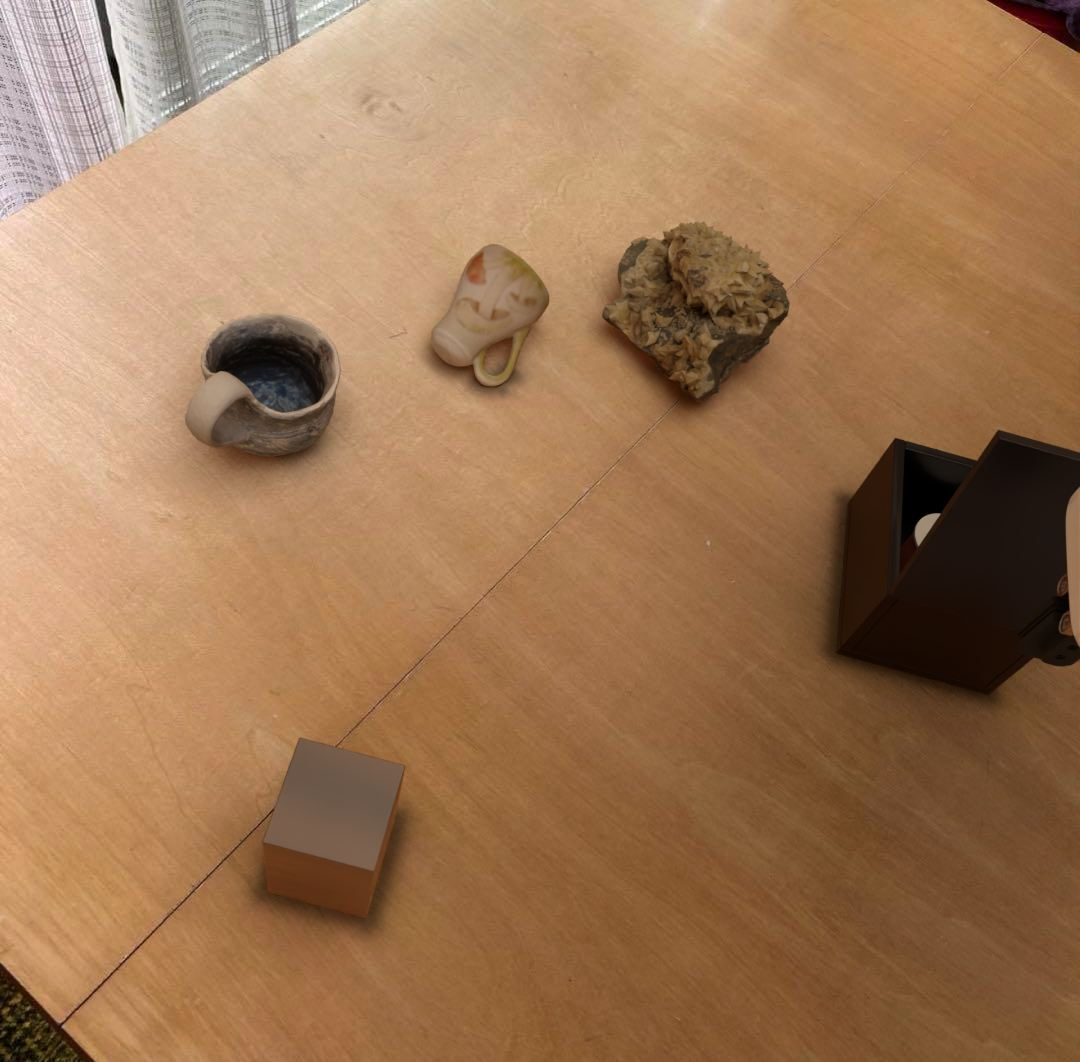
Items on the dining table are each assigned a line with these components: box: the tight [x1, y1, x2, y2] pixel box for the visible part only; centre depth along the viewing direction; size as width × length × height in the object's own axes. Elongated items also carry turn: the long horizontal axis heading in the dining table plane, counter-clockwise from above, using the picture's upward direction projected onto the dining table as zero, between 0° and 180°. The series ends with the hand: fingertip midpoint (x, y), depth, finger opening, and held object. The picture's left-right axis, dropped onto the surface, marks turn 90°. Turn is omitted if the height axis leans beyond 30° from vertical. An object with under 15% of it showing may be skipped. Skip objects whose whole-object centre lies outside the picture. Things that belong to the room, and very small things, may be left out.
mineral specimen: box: [601, 221, 791, 404], centre depth 93 cm, size 14×13×10 cm
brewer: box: [836, 437, 1035, 695], centre depth 84 cm, size 14×12×9 cm
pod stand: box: [262, 737, 406, 919], centre depth 66 cm, size 6×6×10 cm
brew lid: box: [890, 429, 1080, 631], centre depth 71 cm, size 14×12×1 cm
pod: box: [899, 513, 940, 574], centre depth 86 cm, size 5×5×4 cm
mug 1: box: [184, 312, 342, 458], centre depth 81 cm, size 10×12×10 cm
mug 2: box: [430, 243, 550, 387], centre depth 91 cm, size 8×10×10 cm
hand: (1042, 647), depth 66 cm, fingers closed
